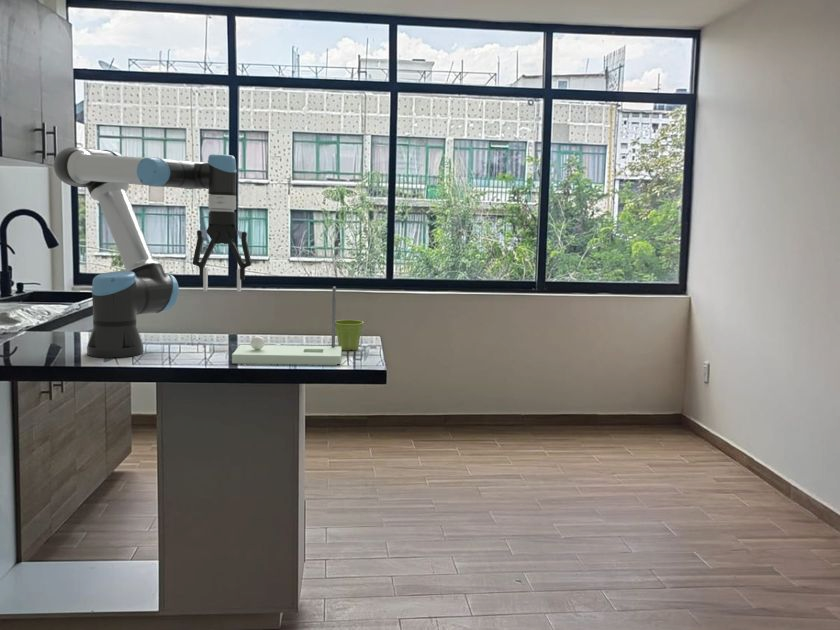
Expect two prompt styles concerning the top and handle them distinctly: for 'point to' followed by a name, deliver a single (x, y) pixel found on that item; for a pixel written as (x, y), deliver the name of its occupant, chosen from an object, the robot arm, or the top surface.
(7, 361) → the top surface
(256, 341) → the ball
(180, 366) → the top surface
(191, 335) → the top surface
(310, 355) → the green
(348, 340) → the plant pot
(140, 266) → the robot arm
